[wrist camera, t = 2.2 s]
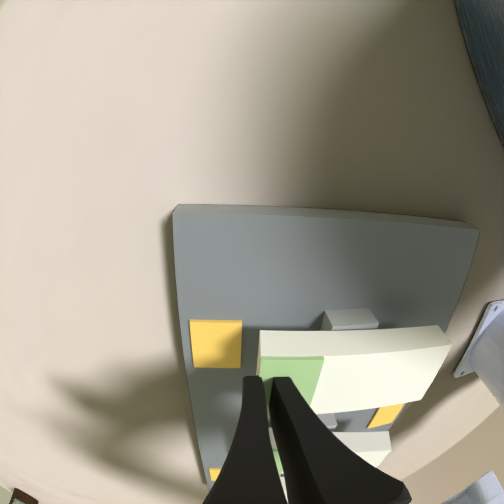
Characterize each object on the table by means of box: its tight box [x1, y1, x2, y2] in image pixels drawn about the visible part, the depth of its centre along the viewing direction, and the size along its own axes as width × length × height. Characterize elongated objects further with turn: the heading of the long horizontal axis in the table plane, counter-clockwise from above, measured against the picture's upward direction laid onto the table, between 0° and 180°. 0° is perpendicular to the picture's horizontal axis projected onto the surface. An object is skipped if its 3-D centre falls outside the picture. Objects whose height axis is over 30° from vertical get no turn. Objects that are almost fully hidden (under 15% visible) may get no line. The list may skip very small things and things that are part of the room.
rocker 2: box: [269, 428, 392, 476], centre depth 15 cm, size 9×4×2 cm, turn 87°
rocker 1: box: [256, 325, 452, 419], centre depth 12 cm, size 9×4×2 cm, turn 87°
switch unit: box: [172, 204, 480, 492], centre depth 18 cm, size 16×30×3 cm, turn 177°
